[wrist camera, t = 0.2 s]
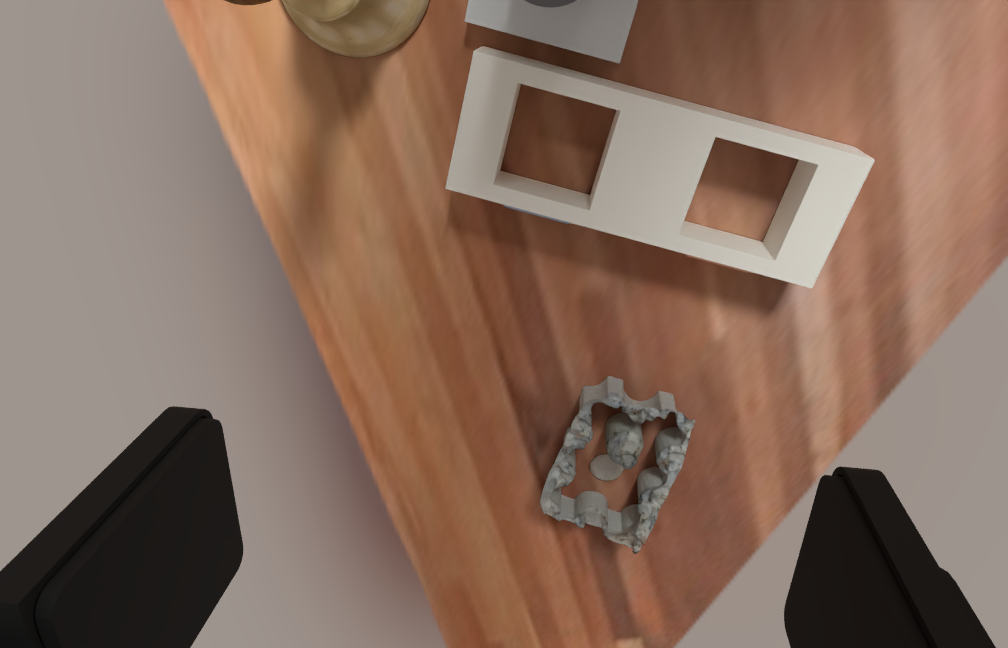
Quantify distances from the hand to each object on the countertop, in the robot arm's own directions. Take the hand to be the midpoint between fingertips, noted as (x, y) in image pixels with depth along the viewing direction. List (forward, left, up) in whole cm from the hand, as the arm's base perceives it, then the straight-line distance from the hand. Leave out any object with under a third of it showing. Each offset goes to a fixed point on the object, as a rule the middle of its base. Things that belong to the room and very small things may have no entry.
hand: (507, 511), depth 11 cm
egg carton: (+19, +8, -31) cm, 37 cm away
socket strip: (0, +4, -30) cm, 30 cm away
